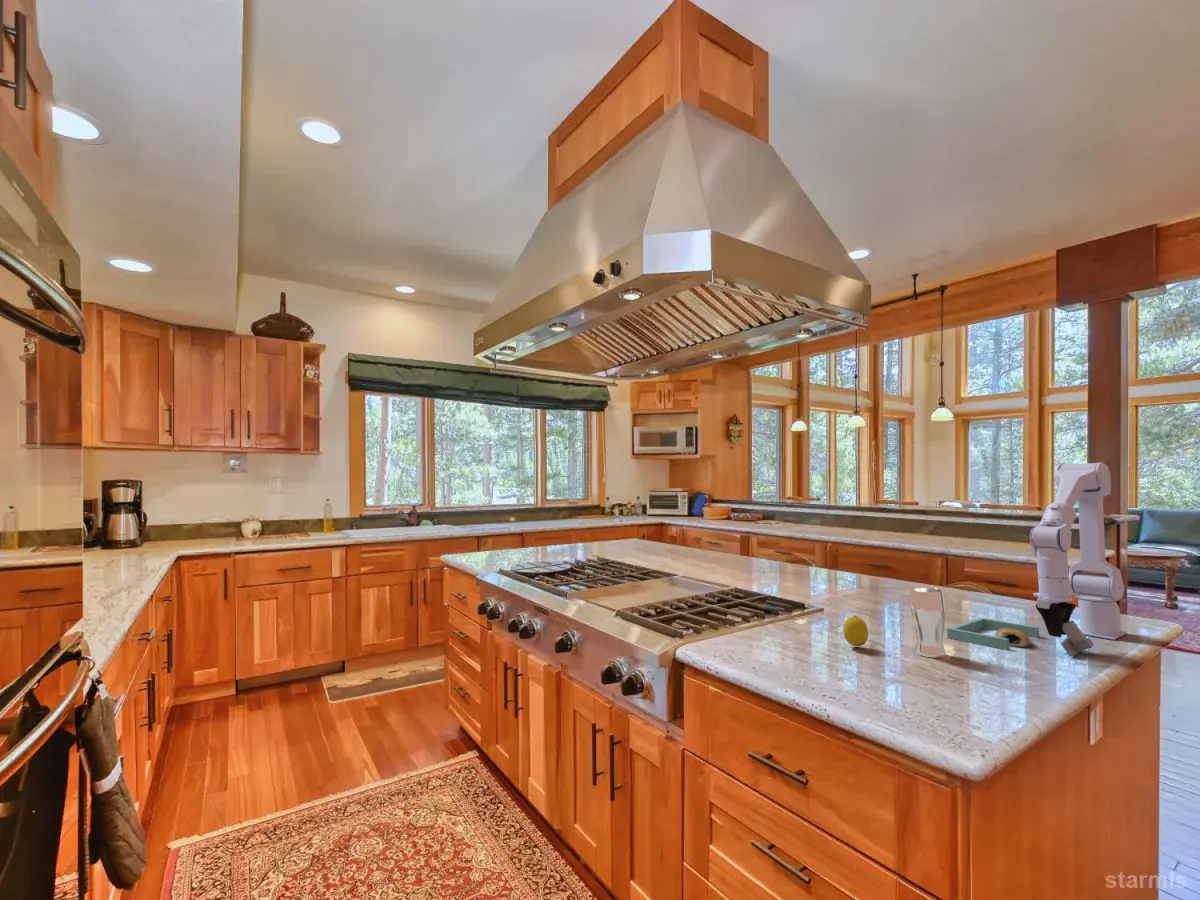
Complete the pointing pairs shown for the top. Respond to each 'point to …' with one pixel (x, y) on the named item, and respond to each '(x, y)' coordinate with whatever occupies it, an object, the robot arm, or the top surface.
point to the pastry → (1014, 637)
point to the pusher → (1075, 639)
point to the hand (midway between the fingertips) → (1057, 635)
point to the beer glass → (928, 620)
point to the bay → (968, 635)
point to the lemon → (855, 631)
